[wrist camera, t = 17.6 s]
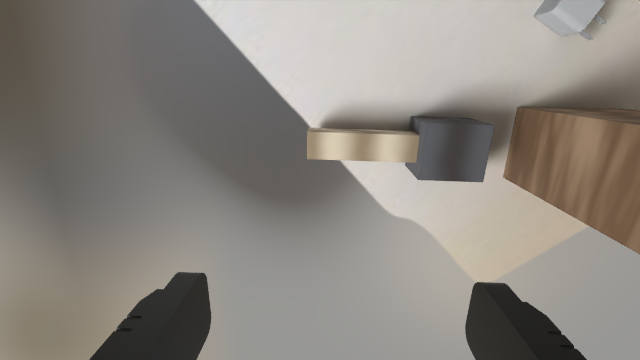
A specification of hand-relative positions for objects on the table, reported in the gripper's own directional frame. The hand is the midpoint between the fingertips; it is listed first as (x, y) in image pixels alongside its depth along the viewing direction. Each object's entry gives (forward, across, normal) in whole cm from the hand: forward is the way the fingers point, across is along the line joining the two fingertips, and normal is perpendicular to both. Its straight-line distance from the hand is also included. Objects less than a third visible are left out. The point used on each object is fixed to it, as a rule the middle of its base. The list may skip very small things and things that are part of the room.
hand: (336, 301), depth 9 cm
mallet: (+36, -8, +2) cm, 37 cm away
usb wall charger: (+36, -29, -14) cm, 48 cm away
